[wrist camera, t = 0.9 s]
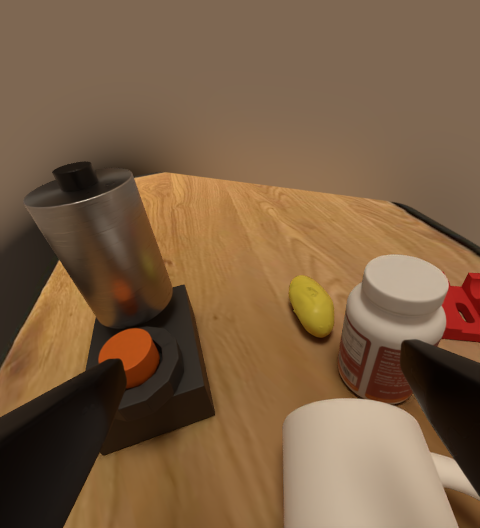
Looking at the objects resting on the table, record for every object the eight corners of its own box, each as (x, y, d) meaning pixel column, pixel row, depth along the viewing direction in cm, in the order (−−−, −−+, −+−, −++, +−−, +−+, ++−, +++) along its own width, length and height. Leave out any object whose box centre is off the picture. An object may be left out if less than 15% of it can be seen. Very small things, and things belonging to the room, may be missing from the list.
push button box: (217, 424, 22) (201, 381, 18) (101, 466, 20) (56, 430, 16) (193, 313, 32) (180, 271, 28) (115, 337, 30) (89, 295, 26)
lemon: (300, 347, 26) (301, 321, 24) (284, 292, 33) (283, 267, 30) (342, 342, 26) (347, 315, 24) (318, 287, 33) (320, 262, 30)
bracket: (421, 291, 30) (429, 271, 29) (471, 294, 29) (483, 273, 27) (441, 338, 26) (452, 316, 24) (502, 344, 24) (519, 322, 23)
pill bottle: (422, 364, 24) (473, 264, 17) (402, 424, 20) (457, 329, 14) (352, 332, 27) (371, 239, 21) (324, 378, 24) (337, 284, 17)
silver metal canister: (176, 314, 23) (122, 171, 16) (90, 339, 22) (-11, 197, 14) (169, 268, 28) (128, 146, 21) (101, 286, 27) (31, 163, 20)
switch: (161, 379, 19) (152, 362, 18) (107, 396, 18) (94, 380, 17) (158, 339, 22) (150, 322, 20) (112, 353, 21) (101, 336, 20)
